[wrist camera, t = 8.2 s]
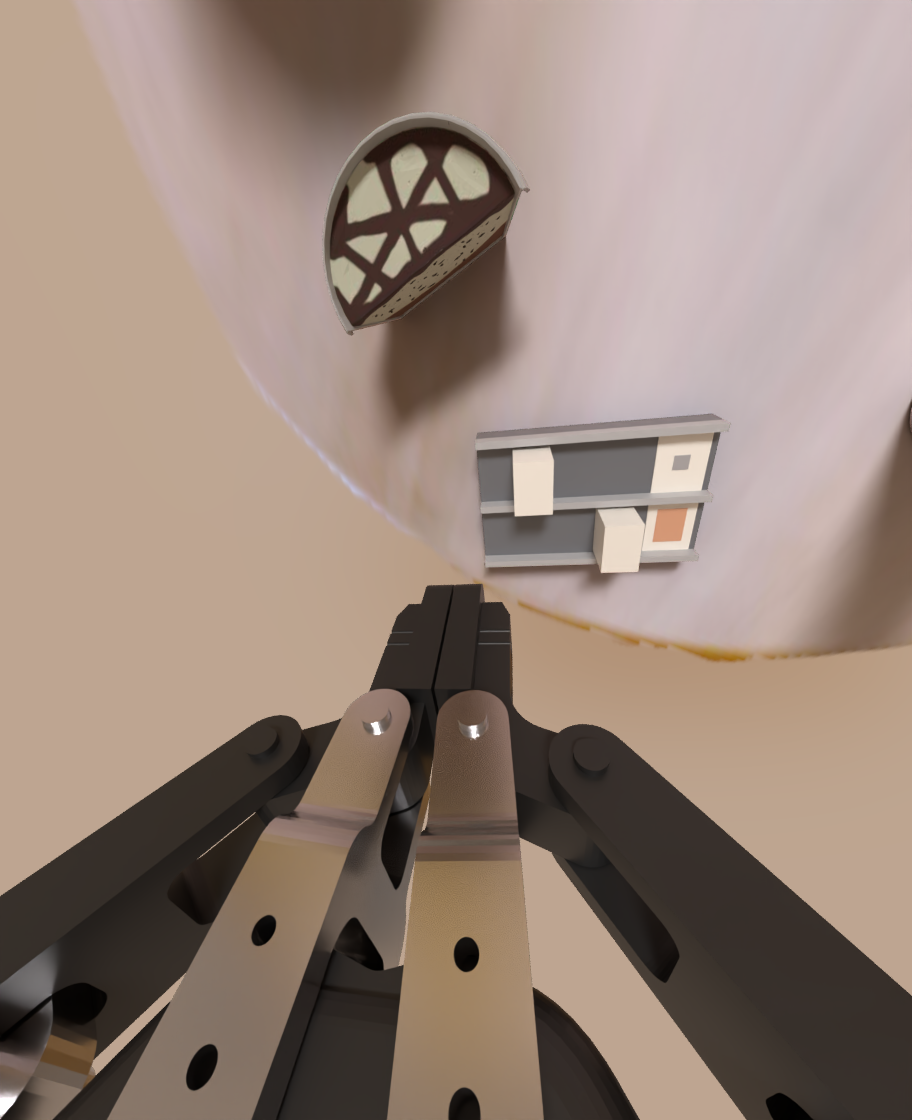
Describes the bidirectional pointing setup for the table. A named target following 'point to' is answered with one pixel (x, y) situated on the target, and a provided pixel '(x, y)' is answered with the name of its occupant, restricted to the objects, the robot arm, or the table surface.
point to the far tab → (618, 539)
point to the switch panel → (601, 488)
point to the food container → (413, 214)
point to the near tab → (533, 480)
